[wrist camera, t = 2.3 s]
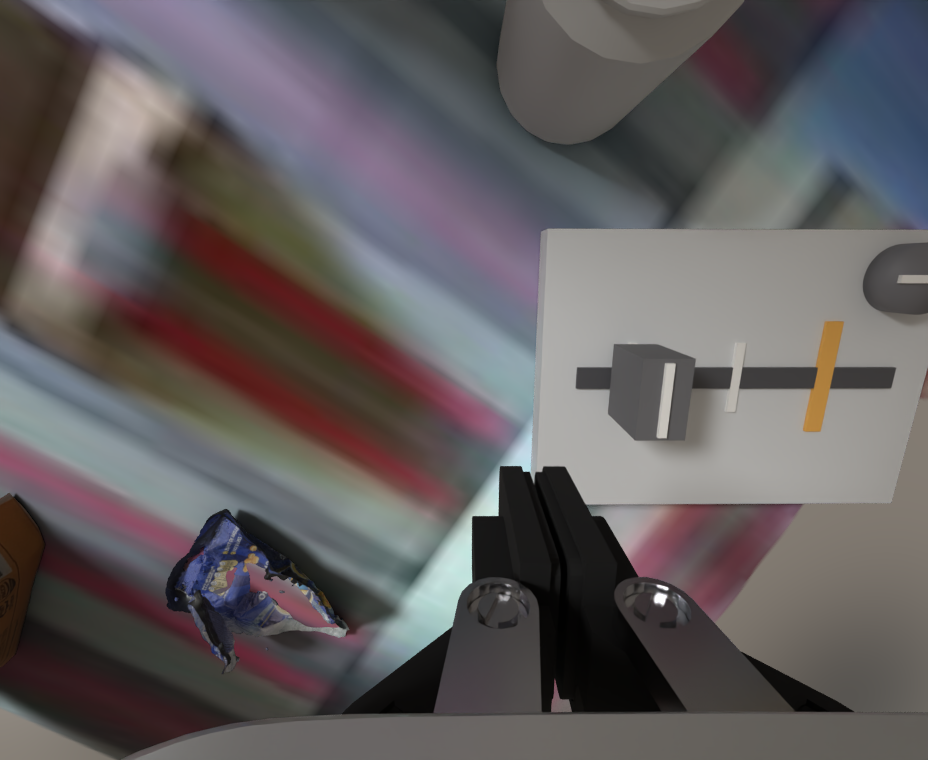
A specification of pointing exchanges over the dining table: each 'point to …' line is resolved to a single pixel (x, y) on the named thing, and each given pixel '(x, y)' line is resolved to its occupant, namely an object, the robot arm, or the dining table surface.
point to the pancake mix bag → (16, 571)
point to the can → (595, 58)
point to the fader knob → (651, 391)
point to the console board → (735, 361)
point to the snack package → (238, 589)
